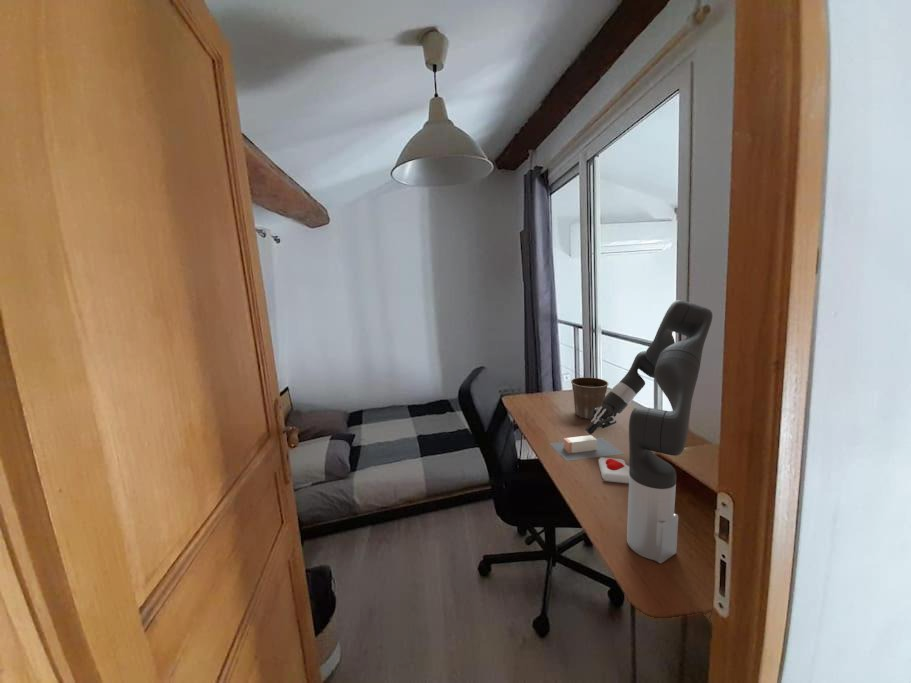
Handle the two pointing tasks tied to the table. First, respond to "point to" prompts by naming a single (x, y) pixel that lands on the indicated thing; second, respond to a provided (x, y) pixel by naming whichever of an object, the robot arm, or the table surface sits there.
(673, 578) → the table surface
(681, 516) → the table surface
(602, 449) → the grey rectangular mat
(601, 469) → the icon
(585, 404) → the plant pot
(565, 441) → the cream block
